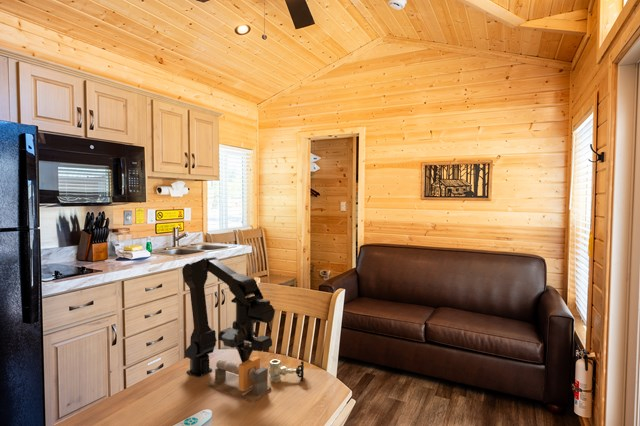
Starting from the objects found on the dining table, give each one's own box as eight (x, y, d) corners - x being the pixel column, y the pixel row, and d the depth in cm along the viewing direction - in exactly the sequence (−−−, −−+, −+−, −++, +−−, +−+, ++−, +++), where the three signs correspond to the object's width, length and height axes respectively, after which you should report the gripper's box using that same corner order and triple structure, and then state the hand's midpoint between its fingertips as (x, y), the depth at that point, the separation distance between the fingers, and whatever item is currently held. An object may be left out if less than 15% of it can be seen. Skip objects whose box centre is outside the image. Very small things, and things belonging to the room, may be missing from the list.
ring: (238, 389, 120) (238, 364, 120) (255, 379, 127) (255, 356, 127) (243, 391, 119) (243, 366, 119) (259, 381, 126) (260, 357, 126)
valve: (267, 384, 128) (303, 384, 128) (267, 365, 128) (303, 365, 128) (270, 375, 135) (303, 376, 135) (270, 357, 134) (303, 357, 135)
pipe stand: (207, 385, 127) (207, 361, 126) (226, 374, 134) (226, 352, 134) (253, 402, 116) (253, 376, 116) (271, 390, 124) (271, 365, 124)
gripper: (205, 318, 121) (205, 366, 122) (250, 329, 112) (249, 381, 112) (230, 310, 131) (230, 355, 131) (273, 319, 121) (273, 367, 122)
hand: (244, 364), depth 124 cm, fingers closed
